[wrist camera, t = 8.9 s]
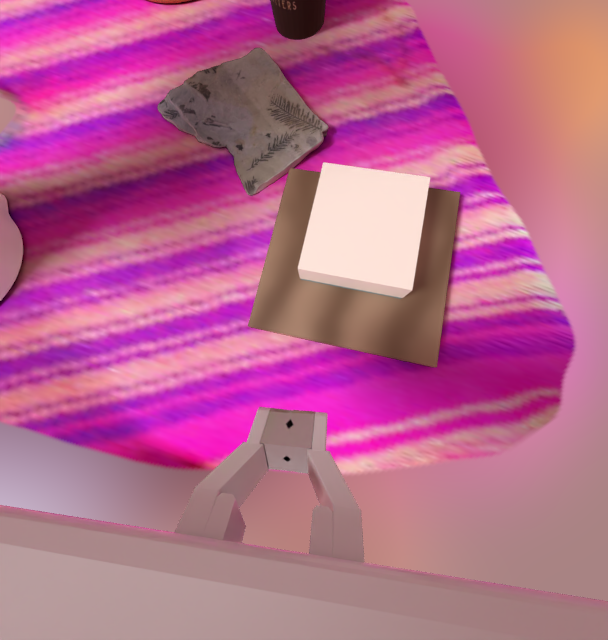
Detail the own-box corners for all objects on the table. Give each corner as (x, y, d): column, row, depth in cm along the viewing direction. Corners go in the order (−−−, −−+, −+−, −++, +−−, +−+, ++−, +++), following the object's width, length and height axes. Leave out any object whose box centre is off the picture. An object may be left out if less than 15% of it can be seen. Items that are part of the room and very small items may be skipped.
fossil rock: (336, 145, 29) (337, 126, 26) (230, 214, 28) (222, 201, 26) (258, 55, 32) (253, 31, 29) (162, 115, 31) (149, 96, 29)
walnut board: (250, 327, 25) (247, 325, 24) (291, 175, 28) (289, 168, 27) (431, 367, 23) (436, 367, 22) (454, 198, 26) (460, 192, 25)
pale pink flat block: (297, 268, 21) (323, 162, 23) (300, 279, 24) (323, 183, 26) (412, 290, 20) (430, 177, 22) (401, 299, 23) (418, 197, 25)
